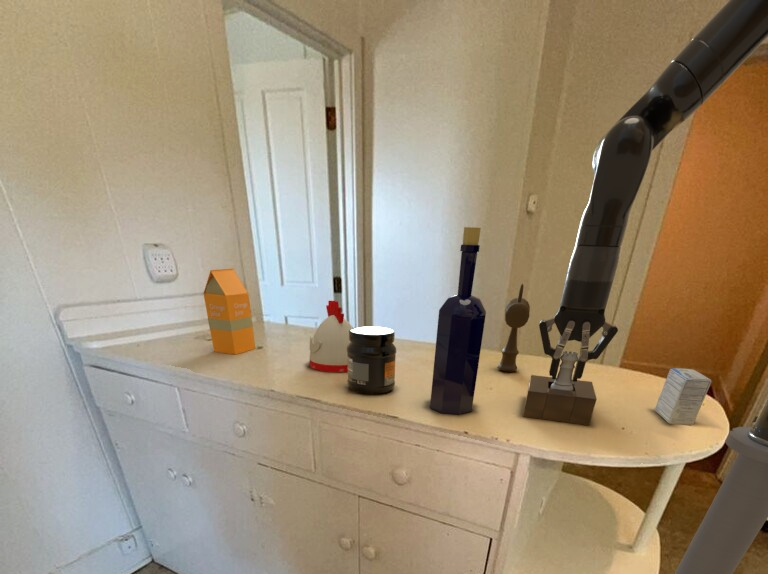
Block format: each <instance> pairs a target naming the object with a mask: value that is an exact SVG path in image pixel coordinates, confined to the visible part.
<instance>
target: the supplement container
mask: <svg viewBox="0 0 768 574" xmlns="http://www.w3.org/2000/svg"><path fill="white" fill-rule="evenodd" d="M395 334H396V332H395V330H393V329H391V328H388V327H384V326H383V327H382V326H357V327H353V328H352V329H350V330H349V340H350V343H349V344H348V346H347V362H348V372H347V386H348V388H349V389H350V390H352V391H353V392H356V393H359V394H364V395H382V394H385V393H389V392H390V391H392V390H393V389H394V387H395V385H396V381H395V379H396V378H395V377H396V358H397V357H396V355H397V346H396V345H395V344H394V342H395Z"/></svg>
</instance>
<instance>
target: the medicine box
mask: <svg viewBox="0 0 768 574" xmlns="http://www.w3.org/2000/svg"><path fill="white" fill-rule="evenodd" d="M664 381H665V382H664V384H663V387H662V388H661V392H660V395H659V397H658V398H657V399H658V400H657V402H656V404H655V408H654V411H655V412H656V413H657V414H658V415H659V416H660V417H661V418H663V420H665V421H666V422H667V423H668V424H670V425H678V426H690V427H691V426H694V424H695V421H696V419H697V416H698V414H699V412H700V409H701V407H702V405H703V403H704V400H705V398H706V396H707V393H708V391H709V389H710V386H711V384H712V379H710V378H709V377H707V376H706V375H704V374H703V373H701V372H699V371H696V370H695V369H691V368H680V367H677V368H670V369H669V371H668V373H667V376H666V378H665V380H664Z"/></svg>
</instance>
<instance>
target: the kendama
mask: <svg viewBox="0 0 768 574" xmlns="http://www.w3.org/2000/svg"><path fill="white" fill-rule="evenodd" d="M523 294H524V283H521V285H520V287H519V291H518V296H517V297H514V298H512V299H510V300H509V301H508V303H506V305H505V309H504V321H505V323H506V325H507V326H508V327H509V328H510V331H509V335H508V338H507V341H506V344H505V346H504V348H503V349H502V350H501V354H502V357H501V360H500V362H499V364H497V369H498V370H500V371H501V372H506V373H508V372H509V373H511V372H515V371H517V370H518V366H517V356H518V355H519V353H520V351H519V349H518V331H519V330H518V329H521V328H522V327H524V326H525V325H527V323H528V321H529V318H530V312H531V306H530V303H529V301H528V300H526V299H525V298H523Z"/></svg>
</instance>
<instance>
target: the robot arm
mask: <svg viewBox="0 0 768 574" xmlns="http://www.w3.org/2000/svg"><path fill="white" fill-rule="evenodd" d="M767 38H768V0H728V1H727V2H726V3H725V4H724V5H723V6H722V7H721V8H720V9H719V10H718V11H717V12H716V13H715V14H714V15H713V16H712V18H710V19H709V21H707V23H705V25H704V26H703V27H701V28H700V30H699V31H698V32H696V34H695V35H694V36H693V38H691V40H689V42H688V43H687V44H686V45H685V46H684V47H683V48H682V49H681V51H679V53H678V54H676V56H675V57H674V58H673V59H672V60H671V62H670V63H669V64H668V65H667V66H666V67H665V68H664V69H663V70H662V72H661V73H660V75H659V76H658V77H657V78H656V80H655V81H654V82H653V84H652V85H651V86H650V87H649V88H648V90H647V91H645V93H644V94H643V95H642V96H641V97H640V98H639V99H637V101H636V102H635V103H634V104H633V105H632V106H631V107H630V108H629V109H628V110H627V111H626V112H625V113H624V114H623V115H622V116H621V117H620V118H619V119H618V120H617V122H616V123H614V125H612V126H611V127H610V129H608V131H607V132H605V134H604V135H603V136H602V137H601V138H600V140H599V141H598V143H597V144H596V147H595V149H594V152H593V154H592V161H591V162H592V163H591V164H592V167H591V168H592V172H593V174H594V179H593V183H592V187H591V191H590V195H589V200H588V203H587V205H586V207H585V208H584V210H583V213H582V216H581V219H580V222H579V226H578V227H579V228H578V232H577V236H576V241H575V245H574V248H573V252H572V255H571V257H570V260H569V263H568V268H567V270H566V276H565V277H566V278H565V280H564V281H565V282H564V286H563V291H562V295H561V299H560V303H559V308H558V310H557V312H556V313H555V315H554V317H551V318H548V319H541V320H540V321H539V323H538V327H539V332H540V338H541V344H542V348H543V353H544V355H548V356H549V357H551V362H550V367H549V377H552V379H556V378H557V376H558V373H559V368H560V364H561V358H560V357H561V356H562V354H563V352H564V349H565V347H566V346H567V343H568V342H570V341H576V342H580V343H579V357H578V360H577V361H576V362H575V368H574V370H573V374H572V380H573V381H574V382H577V380H581V379H582V378H583V374H584V371H585V367H586V363H587V362H588V361H590V360H597V359H599V357H600V356H601V355H602V353H603V352H604V351H605V350H606V348H607V347H608V345H609V344H610V342H612V341H613V339H614V337H615V336H616V335H617V334H618V332H619V328H618V326H617V325H616V324H611V323H609V322H608V321H606V316H605V314H606V313H605V312H606V308H607V304H608V302H609V298H610V293H611V290H612V287H613V283H614V279H615V276H616V273H617V269H618V265H619V262H620V261H619V260H620V253H621V250H622V249H621V248H622V244H623V241H624V238H625V235H626V230H627V226H628V223H629V218H630V214H631V210H632V208H633V205H634V202H635V200H636V198H637V195H638V193H639V191H640V188H641V186H642V183H643V180H644V177H645V175H646V172H647V170H648V166H649V163H650V160H651V157H652V153H653V151H654V150H655V148H657V146H658V145H660V143H661V142H662V141H664V139H665V138H667V136H668V135H669V134H670V133H671V132H672V131H673V130H674V129H675V128H677V127H678V126H679V125H681V124H682V123H684V122H685V121H686V120H687V119H688V118H690V117H691V116H692V115H693V114H694V113H696V111H697V110H698V109H699V108H700V107H701V106H702V105H704V103H705V102H706V101H707V100H708V99H709V98H711V96H712V95H714V93H715V92H717V90H718V89H719V88H720V87H722V86H723V84H724V83H725V82H726V81H727V80H729V78H730V77H731V76H732V75H733V74H734V73H735V72H736V71H737V70H738V69H739V68H740V67H741V66H742V65H743V64H744V63H745V61H746V60H747V59H748V58H750V56H751V55H752V54H753V53H754V52H755V51H756V50H757V49H758V48H759V47H760V46H761V45H762V43H763V42H764V41H765V40H766V39H767ZM554 324H555V326H556V328H557V330H558V333H559V335H560V336H559V338H558V341H557V344H556V346H555V348H554V347H552V345H551V340H550V339H551V338H550V334H549V333H550V332H552V331H553V325H554ZM601 328H602V330H601V338H600V339H599V341H598V343H597V344H596V345H595V346H594V348H593V349H592V350H589V347H590V339H591V338H592V337H593V336H594V335H595V334H596V333H597V332H598V331H599V330H600V329H601ZM752 423H753V424H752V426H751V427H752V429H751V430H750V431H749V433H748V437H749V438H750V439H751V440H753V441H755V442H757V443H759V444H761V445H764V446H767V447H768V398H767V399H766V401H765V403H764V404H763V406H762V408H761V411H760V412H759V414H758V415H756V416H754V418H753V420H752Z"/></svg>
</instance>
